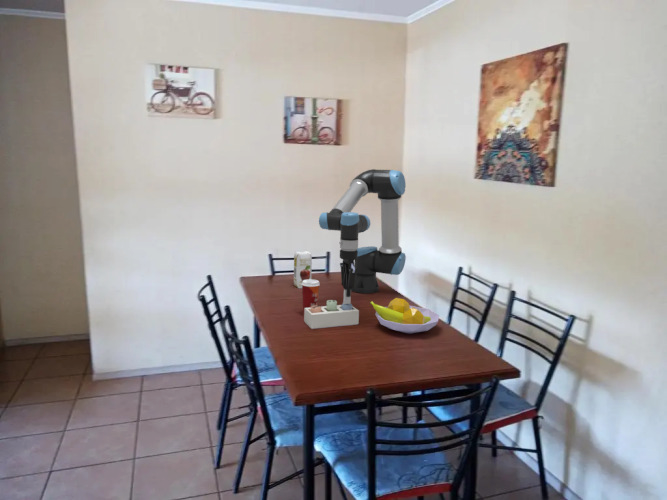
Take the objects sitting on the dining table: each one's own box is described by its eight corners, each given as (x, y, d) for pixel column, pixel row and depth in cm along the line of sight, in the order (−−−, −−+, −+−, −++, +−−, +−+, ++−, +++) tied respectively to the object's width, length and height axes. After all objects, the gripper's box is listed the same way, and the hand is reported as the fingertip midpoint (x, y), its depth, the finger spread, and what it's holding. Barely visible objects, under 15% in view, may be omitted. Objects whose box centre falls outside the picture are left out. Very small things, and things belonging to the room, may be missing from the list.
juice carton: (292, 285, 278) (293, 251, 275) (307, 284, 282) (307, 250, 278) (297, 289, 271) (298, 253, 268) (312, 287, 275) (313, 253, 272)
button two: (334, 313, 221) (334, 299, 219) (338, 316, 217) (338, 301, 215) (324, 313, 219) (325, 299, 218) (328, 316, 215) (328, 302, 214)
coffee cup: (316, 317, 226) (317, 284, 223) (298, 315, 227) (299, 282, 225) (321, 311, 234) (321, 279, 231) (303, 309, 235) (304, 278, 233)
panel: (349, 317, 227) (349, 304, 226) (358, 324, 218) (358, 310, 217) (304, 321, 219) (304, 307, 218) (311, 328, 210) (311, 314, 209)
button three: (318, 318, 218) (319, 304, 217) (322, 321, 214) (322, 307, 213) (309, 319, 217) (309, 305, 216) (312, 322, 213) (312, 308, 212)
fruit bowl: (440, 321, 225) (441, 296, 223) (435, 342, 199) (437, 314, 197) (377, 314, 232) (378, 290, 230) (364, 334, 206) (365, 306, 204)
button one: (349, 315, 223) (349, 302, 222) (353, 318, 219) (353, 304, 218) (339, 316, 222) (340, 302, 221) (343, 319, 218) (344, 305, 217)
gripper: (334, 247, 220) (333, 300, 224) (346, 252, 208) (344, 308, 212) (351, 246, 222) (349, 298, 227) (363, 251, 211) (361, 307, 215)
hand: (346, 303), depth 219 cm, fingers closed
